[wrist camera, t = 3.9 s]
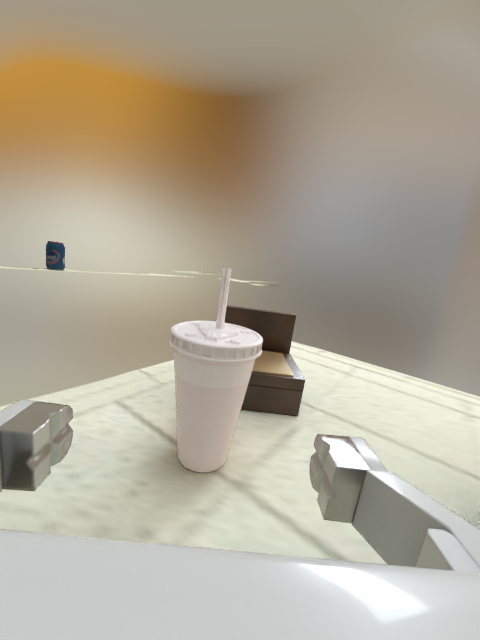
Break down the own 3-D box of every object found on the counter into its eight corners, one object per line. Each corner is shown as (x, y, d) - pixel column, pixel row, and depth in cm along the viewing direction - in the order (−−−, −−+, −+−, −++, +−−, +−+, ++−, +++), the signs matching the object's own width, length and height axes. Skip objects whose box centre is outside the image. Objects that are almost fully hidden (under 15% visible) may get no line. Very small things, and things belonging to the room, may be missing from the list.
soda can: (43, 268, 119) (42, 240, 116) (50, 268, 125) (50, 241, 123) (60, 270, 120) (60, 243, 118) (67, 270, 127) (67, 243, 124)
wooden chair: (210, 406, 27) (221, 319, 26) (216, 370, 36) (225, 304, 34) (298, 416, 28) (315, 331, 26) (283, 378, 37) (294, 314, 35)
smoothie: (247, 436, 23) (274, 273, 21) (239, 497, 17) (275, 276, 14) (176, 422, 24) (192, 262, 21) (143, 477, 18) (158, 260, 15)
